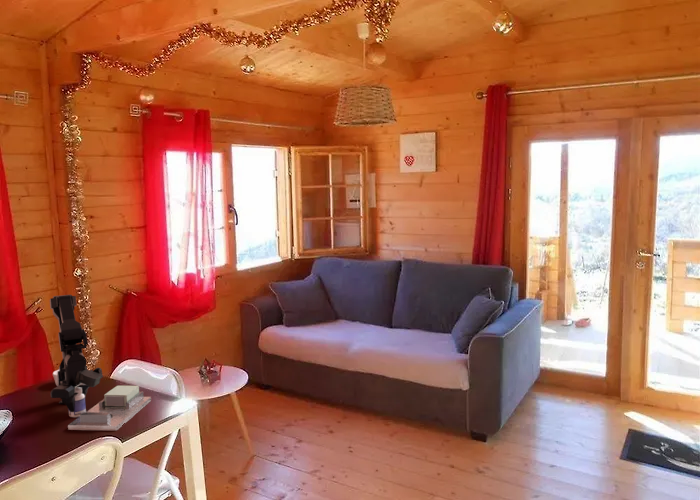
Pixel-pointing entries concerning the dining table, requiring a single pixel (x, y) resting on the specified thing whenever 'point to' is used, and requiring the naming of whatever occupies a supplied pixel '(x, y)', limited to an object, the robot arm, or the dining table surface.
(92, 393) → the dining table surface
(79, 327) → the robot arm
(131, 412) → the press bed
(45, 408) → the dining table surface
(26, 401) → the dining table surface
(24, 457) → the dining table surface
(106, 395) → the block
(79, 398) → the pill bottle
